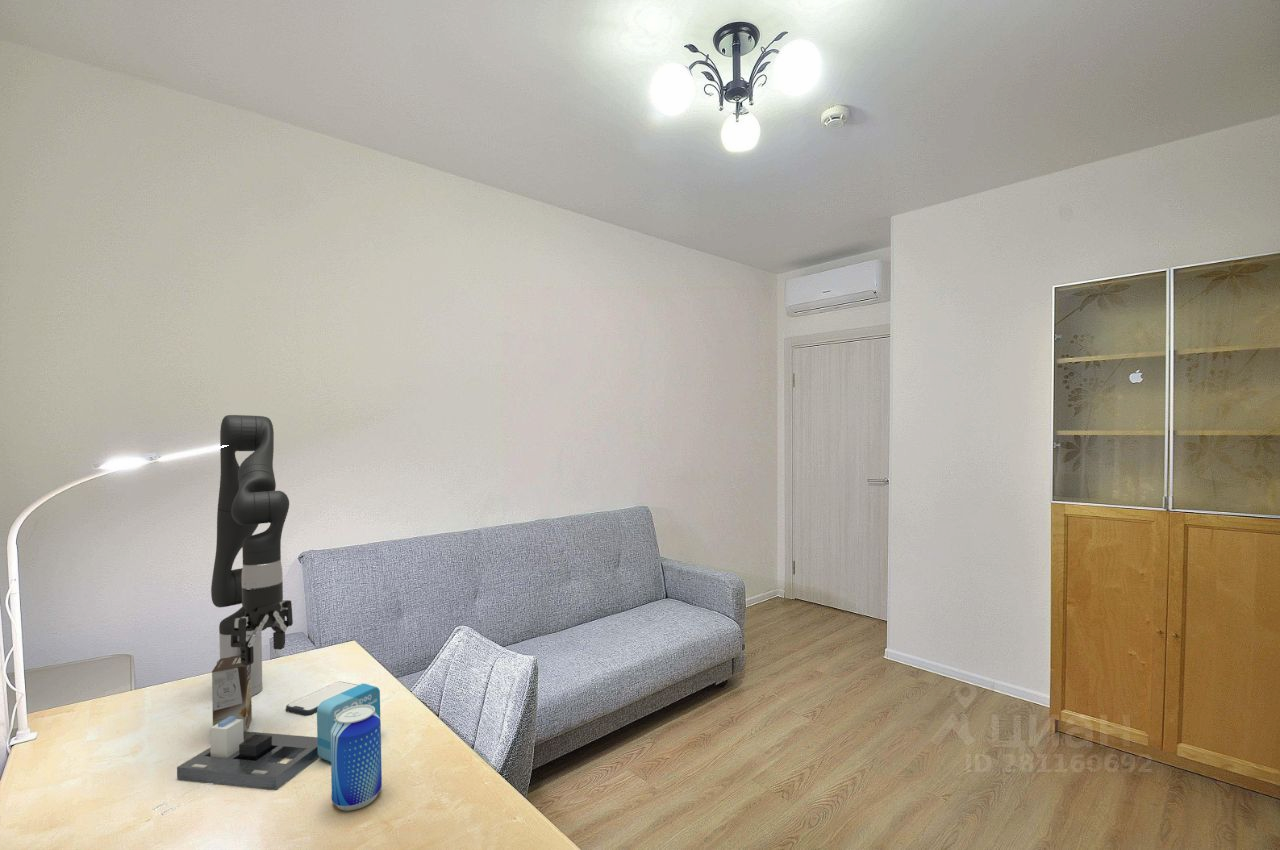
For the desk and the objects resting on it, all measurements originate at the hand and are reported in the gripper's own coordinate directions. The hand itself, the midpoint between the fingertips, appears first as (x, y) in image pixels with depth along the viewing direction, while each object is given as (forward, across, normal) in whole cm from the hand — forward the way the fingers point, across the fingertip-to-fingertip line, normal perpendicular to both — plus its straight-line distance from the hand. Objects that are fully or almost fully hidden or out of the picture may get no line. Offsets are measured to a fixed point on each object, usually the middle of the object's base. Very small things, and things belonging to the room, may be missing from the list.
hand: (263, 656), depth 125 cm
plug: (+20, +5, -4) cm, 21 cm away
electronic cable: (+21, +17, -2) cm, 27 cm away
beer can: (+20, +13, +32) cm, 40 cm away
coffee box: (+20, -6, -14) cm, 25 cm away
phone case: (+21, -23, -3) cm, 31 cm away
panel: (+20, +6, +3) cm, 21 cm away
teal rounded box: (+20, -2, +19) cm, 28 cm away
